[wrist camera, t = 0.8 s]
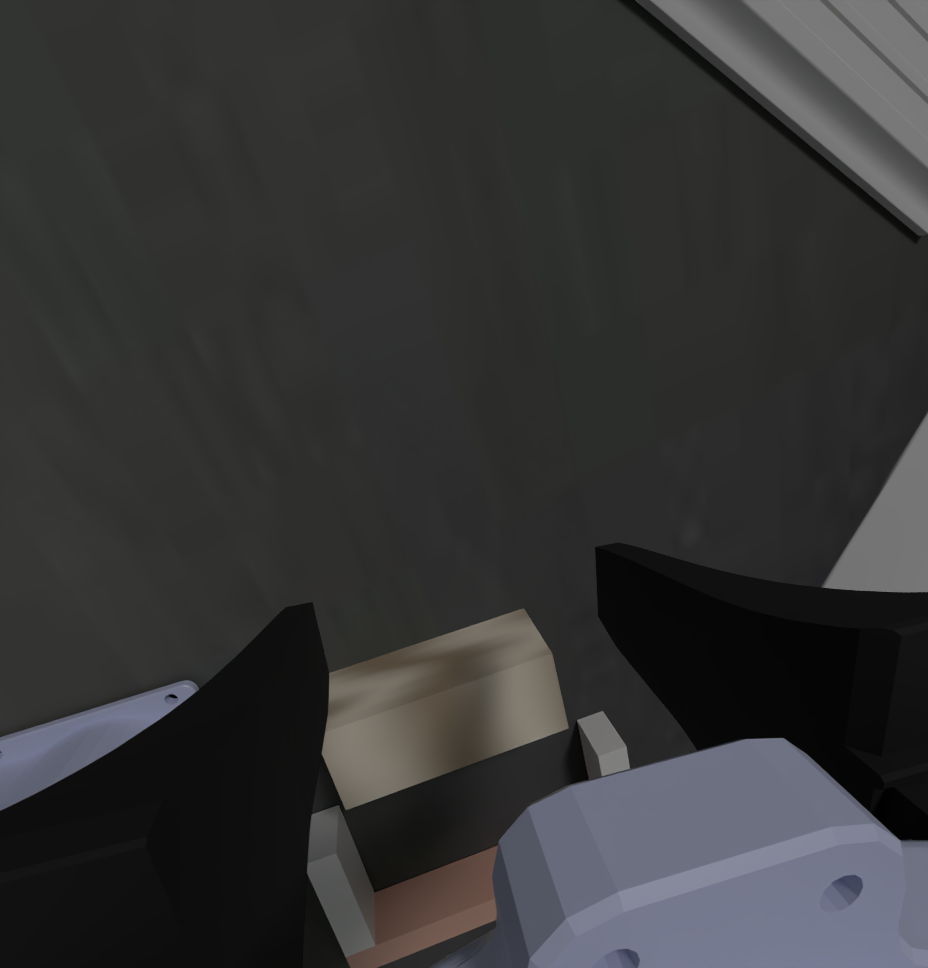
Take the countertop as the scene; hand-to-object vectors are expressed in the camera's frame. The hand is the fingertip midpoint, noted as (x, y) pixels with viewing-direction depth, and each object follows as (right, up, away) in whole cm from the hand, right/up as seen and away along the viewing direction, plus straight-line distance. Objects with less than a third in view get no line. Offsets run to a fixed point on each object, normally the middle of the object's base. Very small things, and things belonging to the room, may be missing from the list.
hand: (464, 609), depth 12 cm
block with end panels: (+1, -15, +14) cm, 20 cm away
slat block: (-1, -6, +12) cm, 13 cm away
